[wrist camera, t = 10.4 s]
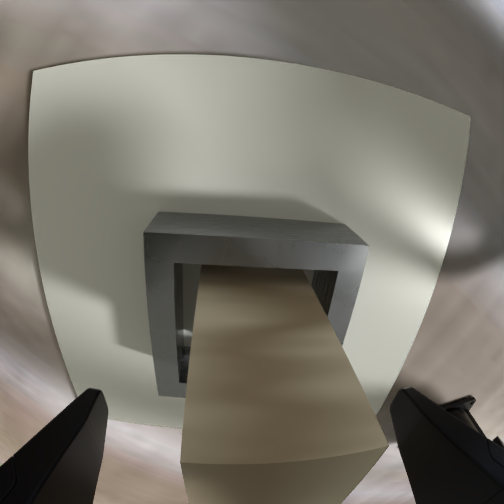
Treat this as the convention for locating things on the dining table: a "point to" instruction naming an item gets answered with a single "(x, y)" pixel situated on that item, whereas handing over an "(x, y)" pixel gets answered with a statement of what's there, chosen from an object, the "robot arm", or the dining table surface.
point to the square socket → (247, 255)
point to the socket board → (230, 198)
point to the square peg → (271, 396)
